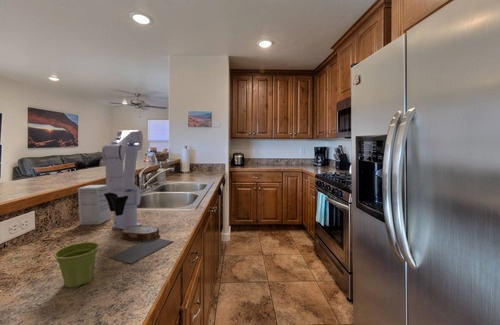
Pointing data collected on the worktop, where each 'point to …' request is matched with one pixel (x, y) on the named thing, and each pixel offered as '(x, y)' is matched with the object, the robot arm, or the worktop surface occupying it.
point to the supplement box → (93, 205)
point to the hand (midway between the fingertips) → (116, 213)
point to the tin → (140, 233)
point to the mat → (140, 250)
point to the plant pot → (77, 263)
